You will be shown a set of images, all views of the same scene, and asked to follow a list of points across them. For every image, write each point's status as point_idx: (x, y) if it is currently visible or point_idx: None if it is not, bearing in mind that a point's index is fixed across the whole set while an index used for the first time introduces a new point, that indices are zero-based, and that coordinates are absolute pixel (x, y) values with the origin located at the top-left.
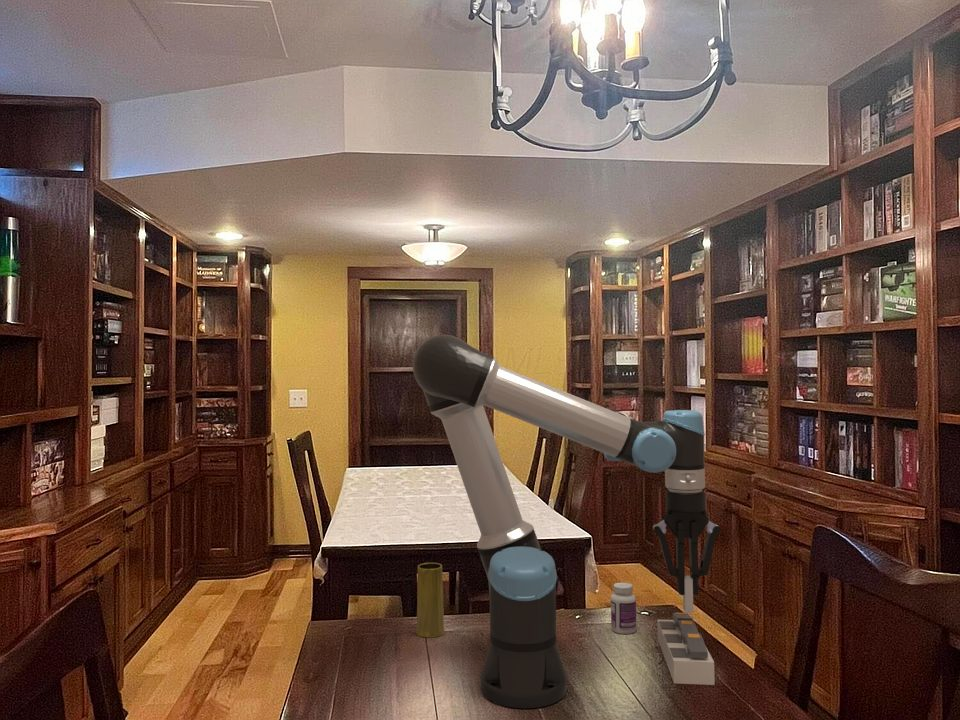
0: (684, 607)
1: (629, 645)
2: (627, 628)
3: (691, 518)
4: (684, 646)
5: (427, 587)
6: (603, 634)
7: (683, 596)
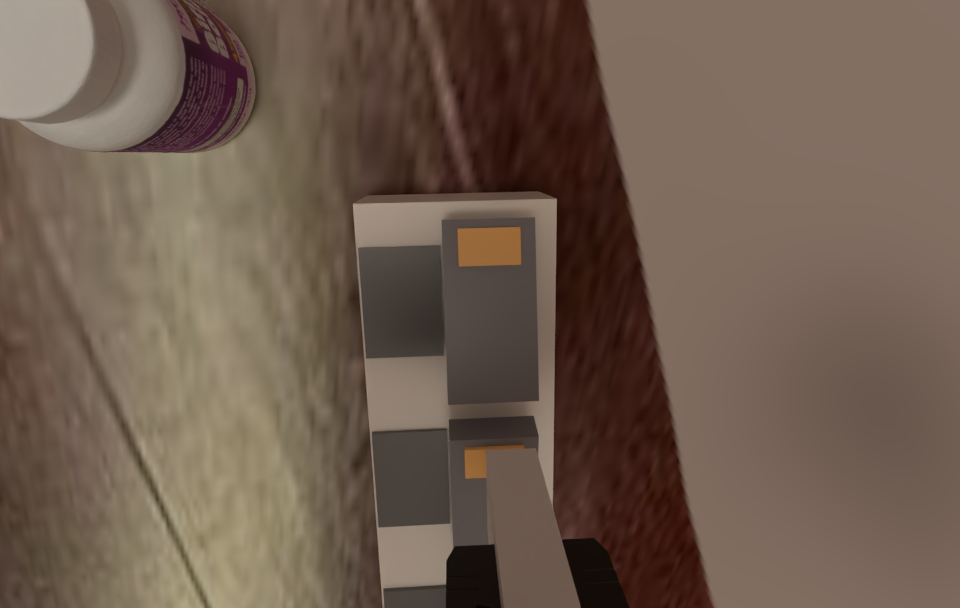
0: (488, 511)
1: (226, 293)
2: (197, 150)
3: None
4: None
5: None
6: (80, 157)
7: (492, 524)
